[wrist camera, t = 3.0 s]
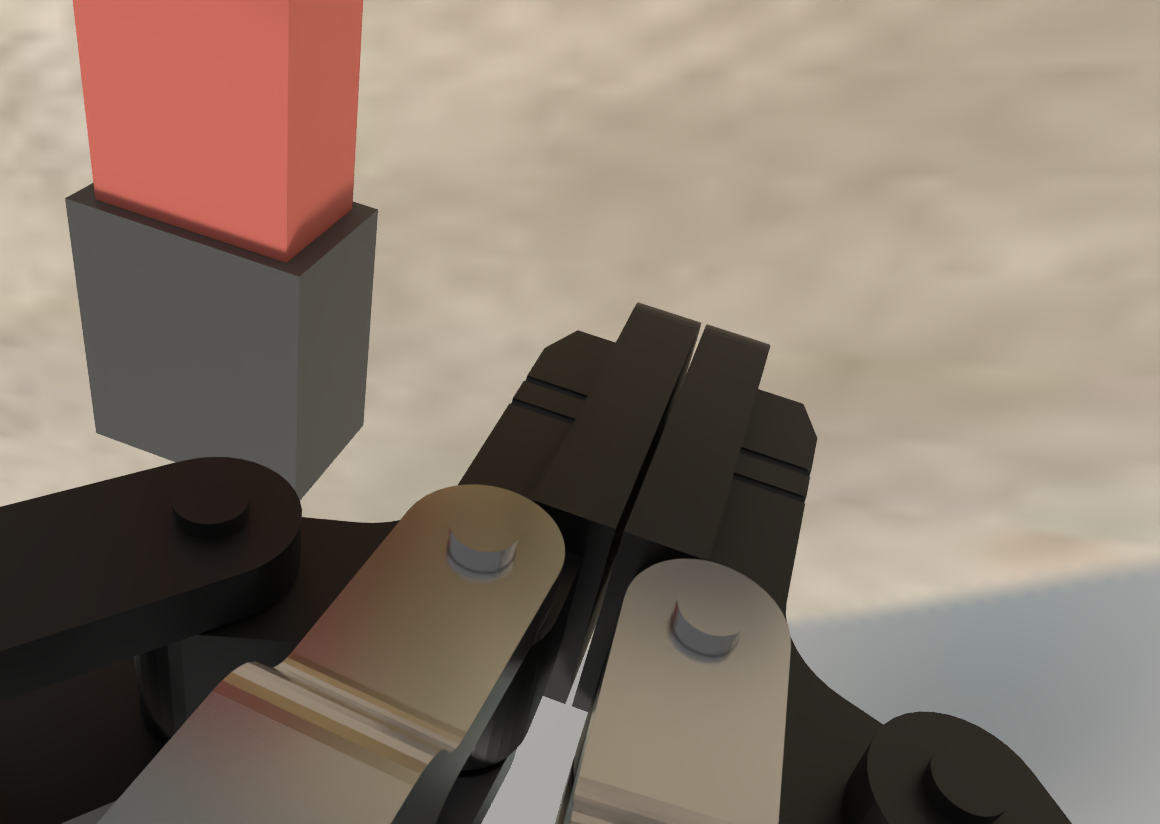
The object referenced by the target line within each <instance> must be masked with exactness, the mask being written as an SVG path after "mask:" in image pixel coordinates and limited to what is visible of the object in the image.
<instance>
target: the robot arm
mask: <svg viewBox="0 0 1160 824" xmlns="http://www.w3.org/2000/svg"><path fill="white" fill-rule="evenodd" d="M700 326H701V323H700V322H697V321H694V320H691V319H688V318H685V317H682V316H679V315H676V314H672V313H669V312H666V311H663V310H660V309H657V308H654V307H651V306H648V305H644V304H641V303H637V304H636V306H635V308H634V309H633V311H632V313H631V315H630V317H629V319H628V321H627V323H626V324H625V326H624V328H623V330H622V332H621V334H620V336H619V338H618V340H617V341H616V343H615V342H612V341H609V340H606V339H603V338H600V337H597V336H593V335H590V334H587V333H584V332H581V331H576V332H574V333H572V334H570V335H568V336H566V337H565V338H563V339H561V340H559V341H557V342H555V343H553V344H551V345H550V346H548V347H546V348H544V350H543V352H542V353H541V355H540V356H539V358H538V360H537V361H536V363H535V364H534V366H533V367H532V369H531V371H530V372H529V374H528V375H527V379H526V381H524V382H523V383H522V385H521V386H520V388H519V389H518V391H517V393H516V394H515V396H514V397H513V400H512V403H511V404H509V405H508V407H507V408H506V410H505V411H504V413H503V415H502V416H501V418H500V419H499V421H498V423H497V424H496V426H495V427H494V429H493V430H492V432H491V434H490V435H489V437H488V438H487V440H486V441H485V443H484V445H483V446H482V448H481V449H480V451H479V452H478V454H477V456H476V457H475V459H474V460H473V462H472V463H471V465H470V467H469V468H468V470H467V471H466V473H465V475H464V476H463V478H462V479H461V481H460V482H459V484H458V486H452V487H447V488H444V489H441V490H437V491H435V492H433V493H431V494H429V495H426V496H425V497H423V498H422V499H420V500H419V501H418V502H416V503H415V504H414V505H413V506H412V507H411V508H410V509H409V510H408V511H407V513H406V514H405V515H404V516H403V517H402V519H401V520H398V521H392V522H383V523H358V522H347V521H337V520H326V519H316V518H305V517H302V508H301V504H300V500H299V497H298V495H297V493H296V491H295V490H294V489H293V487H292V486H291V485H290V484H289V482H288V481H287V480H285V479H284V478H283V477H282V476H281V475H279V474H278V473H276V472H275V471H273V470H271V469H269V468H268V467H265V466H263V465H260V464H258V463H255V462H251V461H247V460H244V459H238V458H231V457H203V458H195V459H189V460H184V461H180V462H176V463H172V464H168V465H164V466H160V467H156V468H152V469H148V470H144V471H140V472H136V473H132V474H128V475H125V476H121V477H117V478H113V479H109V480H105V481H101V482H97V483H93V484H89V485H85V486H81V487H77V488H73V489H69V490H65V491H61V492H57V493H53V494H49V495H45V496H42V497H38V498H34V499H30V500H26V501H22V502H18V503H14V504H10V505H6V506H2V507H0V824H481V823H482V821H483V819H484V817H485V815H486V814H487V812H488V810H489V808H490V806H491V804H492V802H493V800H494V798H495V796H496V794H497V792H498V791H499V788H500V787H501V785H502V783H503V781H504V779H505V777H506V775H507V773H508V771H509V769H510V767H511V765H512V762H513V760H514V757H515V753H516V749H517V747H518V746H519V745H520V744H521V743H522V741H523V740H524V738H525V736H526V734H527V732H528V730H529V727H530V725H531V723H532V720H533V718H534V715H535V713H536V711H537V708H538V706H539V703H540V701H541V699H542V696H545V697H548V698H551V699H553V700H556V701H559V702H561V703H564V704H565V703H566V701H567V698H568V695H569V693H570V690H571V687H572V685H573V683H574V680H575V677H576V675H577V672H578V670H579V667H580V665H581V662H582V659H583V657H584V654H585V652H586V649H587V647H588V644H589V641H590V639H591V636H592V634H593V637H592V640H591V644H590V647H589V650H588V654H587V657H586V660H585V664H584V667H583V671H582V674H581V677H580V681H579V684H578V688H577V691H576V694H575V698H574V702H573V705H572V706H573V707H576V708H578V709H581V710H584V711H587V712H588V715H587V718H586V721H585V725H584V728H583V731H582V734H581V737H580V740H579V743H578V747H577V750H576V754H575V757H574V759H573V763H572V766H571V769H570V772H569V775H568V779H567V782H566V785H565V788H564V792H563V796H562V799H561V803H560V807H559V811H558V814H557V818H556V822H555V824H1072V823H1071V822H1070V821H1069V819H1068V818H1067V817H1066V815H1065V814H1064V813H1063V811H1062V810H1061V809H1060V807H1059V806H1058V805H1057V804H1056V802H1055V801H1054V800H1053V799H1052V797H1051V796H1050V794H1049V793H1048V792H1047V790H1046V789H1045V788H1044V786H1043V785H1042V784H1041V783H1040V781H1039V780H1038V779H1037V777H1036V776H1035V775H1034V773H1033V772H1032V771H1031V770H1030V768H1028V766H1027V765H1026V764H1025V763H1024V761H1023V760H1022V759H1021V758H1020V757H1019V756H1018V755H1017V754H1015V753H1014V751H1012V750H1011V749H1010V748H1009V747H1008V746H1007V745H1006V744H1004V743H1003V742H1002V741H1000V740H999V739H998V738H996V737H995V736H993V735H992V734H990V733H989V732H987V731H985V730H984V729H982V728H980V727H979V726H976V725H974V724H972V723H970V722H968V721H965V720H963V719H960V718H957V717H954V716H951V715H947V714H941V713H935V712H914V713H907V714H903V715H901V716H898V717H895V718H893V719H892V720H890V721H889V722H887V723H886V724H884V725H883V724H881V723H880V722H879V721H877V720H876V719H874V718H873V717H871V716H870V715H868V714H867V713H865V712H864V711H862V710H860V709H859V708H858V707H856V706H855V705H853V704H852V703H850V702H849V701H847V700H846V699H844V698H843V697H841V696H840V695H839V694H837V693H836V692H834V691H833V690H832V689H831V688H829V687H828V686H827V685H826V684H825V683H824V682H823V681H822V680H820V679H819V678H818V677H817V676H816V675H815V673H814V672H813V671H812V670H811V669H810V668H809V667H808V666H807V664H806V663H805V661H804V660H803V659H802V657H801V655H800V654H799V652H798V651H797V649H796V647H795V645H794V643H793V641H792V639H791V636H790V632H789V628H788V624H787V620H786V603H787V597H788V592H789V587H790V581H791V576H792V571H793V565H794V560H795V555H796V549H797V544H798V539H799V533H800V528H801V523H802V517H803V512H804V506H805V503H804V502H805V499H806V496H807V490H808V485H809V480H810V476H809V475H810V472H811V469H812V464H813V458H814V453H815V448H816V442H817V436H816V434H815V431H814V429H813V426H812V424H811V421H810V419H809V417H808V414H807V412H806V409H805V407H804V404H802V403H799V402H796V401H793V400H790V399H787V398H784V397H781V396H777V395H774V394H771V393H768V392H765V391H762V390H759V389H758V387H759V384H760V380H761V377H762V373H763V370H764V366H765V363H766V359H767V356H768V352H769V349H770V344H766V343H763V342H760V341H757V340H754V339H751V338H748V337H745V336H742V335H738V334H735V333H732V332H729V331H726V330H723V329H720V328H717V327H714V326H710V325H706V327H705V329H704V332H703V334H702V337H701V339H700V342H699V344H698V347H697V349H696V352H695V354H694V357H693V359H692V362H691V364H690V360H691V357H692V354H693V351H694V347H695V344H696V341H697V337H698V334H699V330H700ZM689 364H690V367H689ZM688 367H689V369H688ZM687 370H688V372H687ZM686 373H687V374H686ZM595 626H596V627H595ZM594 629H595V630H594ZM593 631H594V633H593Z"/></svg>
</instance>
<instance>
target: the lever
mask: <svg viewBox="0 0 1160 824" xmlns="http://www.w3.org/2000/svg"><path fill="white" fill-rule="evenodd" d="M73 6H74V15H75V24H76V33H77V41H78V50H79V59H80V68H81V77H82V86H83V94H84V103H85V112H86V121H87V130H88V138H89V147H90V156H91V165H92V174H93V182H94V183H92V184H90V185H89V186H87V187H85V188H83V189H81V190H80V191H78V192H76V193H74V194H72V195H70V196H69V197H67V198H65V201H66V208H67V216H68V223H69V231H70V239H71V246H72V254H73V261H74V269H75V276H76V284H77V291H78V299H79V306H80V314H81V321H82V329H83V336H84V344H85V351H86V359H87V367H88V374H89V382H90V389H91V397H92V404H93V412H94V419H95V427H96V433H98V434H101V435H103V436H106V437H109V438H111V439H114V440H117V441H120V442H122V443H125V444H128V445H130V446H133V447H136V448H139V449H141V450H144V451H147V452H149V453H152V454H155V455H158V456H160V457H163V458H166V459H168V460H171V461H174V462H180V461H184V460H189V459H195V458H203V457H231V458H238V459H244V460H247V461H251V462H255V463H258V464H260V465H263V466H265V467H268V468H269V469H271V470H273V471H275V472H276V473H278V474H279V475H281V476H282V477H283V478H284V479H285V480H287V481H288V482H289V484H290V485H291V486H292V487H293V489H294V490H295V491H296V493H297V495H298V497H299V500H301V499H302V497H303V496H304V495H305V494H306V493H307V492H308V490H309V489H310V488H311V487H312V486H313V484H314V483H315V482H316V481H317V480H318V478H319V477H320V476H321V475H322V474H323V472H324V471H325V470H326V469H327V468H328V467H329V465H330V464H331V463H332V462H333V461H334V459H335V458H336V457H337V456H338V455H339V453H340V452H341V451H342V450H343V449H344V448H345V446H346V445H347V444H348V443H349V442H350V440H351V439H352V438H353V437H354V436H355V434H356V433H357V432H358V431H359V430H360V428H361V427H362V426H363V421H364V406H365V391H366V377H367V362H368V348H369V333H370V318H371V304H372V289H373V274H374V260H375V245H376V231H377V216H378V209H374V208H371V207H368V206H365V205H362V204H359V203H356V202H353V186H354V167H355V147H356V128H357V109H358V90H359V70H360V51H361V32H362V12H363V0H73Z"/></svg>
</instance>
